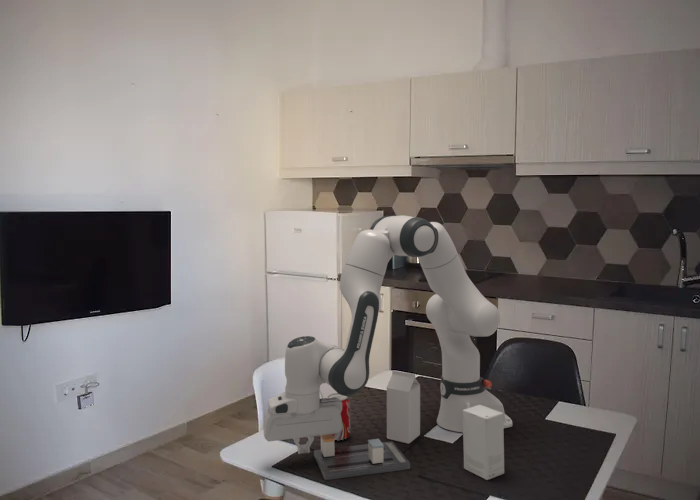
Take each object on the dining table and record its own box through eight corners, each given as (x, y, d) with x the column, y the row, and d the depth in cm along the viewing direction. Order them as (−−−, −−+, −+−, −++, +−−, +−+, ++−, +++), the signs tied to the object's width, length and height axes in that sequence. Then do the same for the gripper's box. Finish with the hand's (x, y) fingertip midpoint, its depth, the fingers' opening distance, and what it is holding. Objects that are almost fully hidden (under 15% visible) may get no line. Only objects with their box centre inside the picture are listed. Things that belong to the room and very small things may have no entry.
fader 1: (331, 449, 156) (331, 432, 155) (334, 455, 152) (334, 438, 151) (320, 450, 155) (320, 434, 155) (323, 457, 151) (323, 440, 151)
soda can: (347, 443, 164) (347, 401, 163) (323, 441, 165) (322, 400, 164) (352, 433, 171) (352, 393, 170) (329, 431, 172) (328, 391, 171)
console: (392, 446, 162) (392, 440, 162) (410, 469, 148) (410, 463, 148) (313, 455, 156) (313, 450, 156) (324, 480, 143) (324, 474, 143)
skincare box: (504, 474, 145) (505, 413, 144) (485, 481, 141) (486, 419, 140) (480, 461, 152) (480, 403, 151) (461, 468, 148) (461, 408, 147)
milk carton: (409, 444, 163) (409, 377, 161) (386, 439, 167) (386, 373, 165) (420, 435, 169) (420, 370, 167) (398, 430, 173) (398, 367, 171)
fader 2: (378, 455, 152) (378, 438, 151) (383, 462, 148) (383, 445, 147) (368, 456, 151) (367, 439, 151) (372, 463, 147) (372, 446, 147)
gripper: (339, 392, 156) (339, 442, 158) (261, 400, 151) (263, 452, 152) (345, 400, 150) (345, 452, 151) (264, 408, 145) (266, 462, 146)
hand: (303, 452), depth 152 cm, fingers closed
